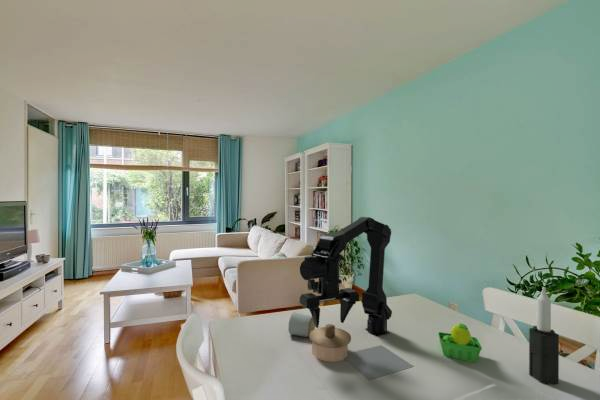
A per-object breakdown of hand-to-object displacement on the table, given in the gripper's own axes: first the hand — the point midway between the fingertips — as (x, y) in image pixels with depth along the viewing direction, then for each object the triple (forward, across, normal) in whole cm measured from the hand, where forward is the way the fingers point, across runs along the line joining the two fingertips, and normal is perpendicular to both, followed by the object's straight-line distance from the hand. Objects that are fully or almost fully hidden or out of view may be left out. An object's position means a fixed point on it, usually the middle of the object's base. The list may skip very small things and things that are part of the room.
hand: (329, 324), depth 93 cm
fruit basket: (+9, -36, +18) cm, 41 cm away
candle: (+9, -47, +35) cm, 59 cm away
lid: (+4, 0, 0) cm, 4 cm away
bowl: (+9, 0, 0) cm, 9 cm away
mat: (+9, -10, +10) cm, 17 cm away
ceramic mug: (+9, +1, -16) cm, 19 cm away
